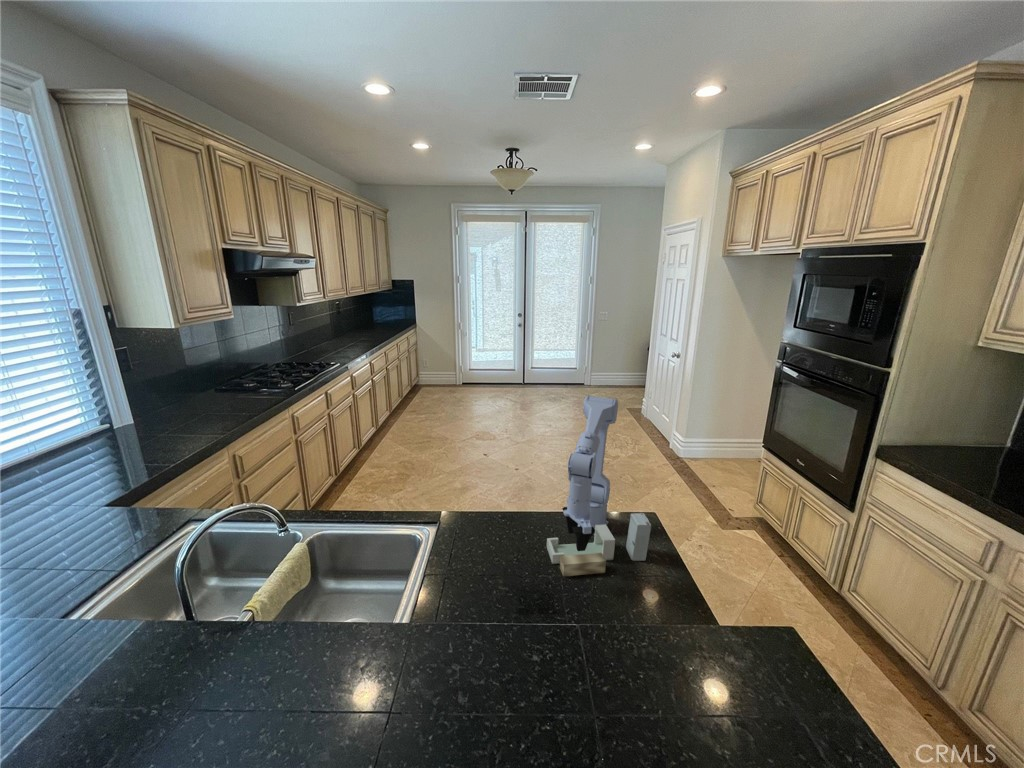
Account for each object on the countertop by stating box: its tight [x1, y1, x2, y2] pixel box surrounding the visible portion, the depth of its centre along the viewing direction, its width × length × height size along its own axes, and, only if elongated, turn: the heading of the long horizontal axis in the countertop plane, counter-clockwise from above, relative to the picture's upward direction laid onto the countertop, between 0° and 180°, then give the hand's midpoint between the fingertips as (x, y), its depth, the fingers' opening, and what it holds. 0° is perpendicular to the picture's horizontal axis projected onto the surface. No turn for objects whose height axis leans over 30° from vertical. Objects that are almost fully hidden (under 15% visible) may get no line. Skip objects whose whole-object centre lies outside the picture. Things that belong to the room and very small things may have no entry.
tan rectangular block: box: [559, 553, 607, 578], centre depth 111 cm, size 12×4×4 cm, turn 99°
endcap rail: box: [546, 524, 616, 565], centre depth 118 cm, size 18×8×7 cm, turn 98°
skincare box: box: [625, 512, 652, 562], centre depth 117 cm, size 6×4×12 cm
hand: (576, 541), depth 109 cm, fingers open, 7 cm apart
